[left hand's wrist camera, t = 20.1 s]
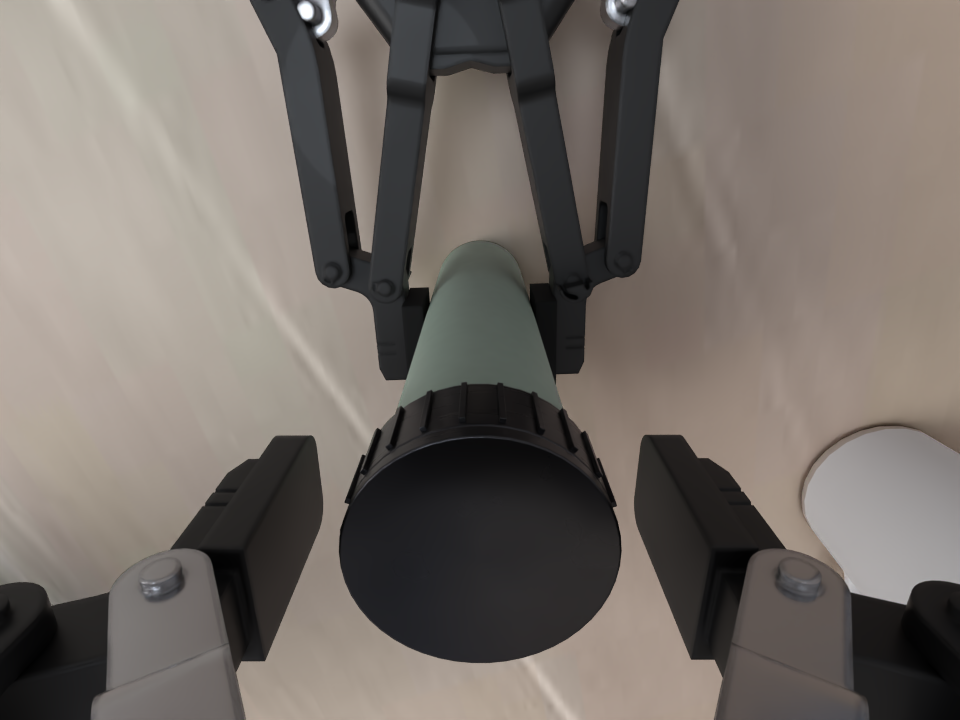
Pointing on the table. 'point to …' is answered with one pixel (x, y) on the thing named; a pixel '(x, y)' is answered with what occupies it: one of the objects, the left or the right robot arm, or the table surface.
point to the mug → (887, 510)
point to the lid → (480, 526)
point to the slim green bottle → (480, 329)
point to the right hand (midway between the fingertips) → (484, 442)
